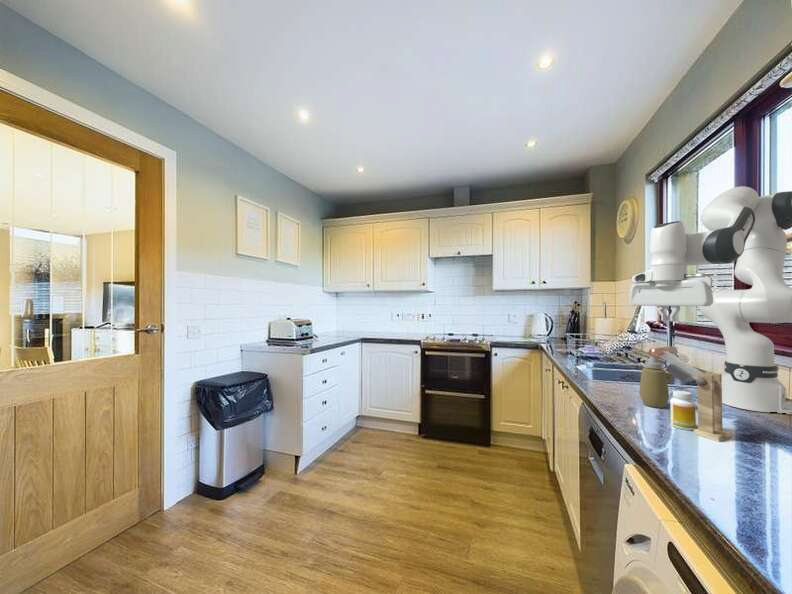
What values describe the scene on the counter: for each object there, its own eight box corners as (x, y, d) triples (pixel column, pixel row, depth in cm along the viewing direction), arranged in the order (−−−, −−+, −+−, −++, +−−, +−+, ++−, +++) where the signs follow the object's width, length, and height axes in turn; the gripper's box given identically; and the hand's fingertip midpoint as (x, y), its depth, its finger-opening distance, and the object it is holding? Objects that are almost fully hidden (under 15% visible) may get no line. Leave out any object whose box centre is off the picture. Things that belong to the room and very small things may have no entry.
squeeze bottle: (633, 401, 116) (632, 350, 116) (657, 402, 116) (656, 350, 116) (650, 409, 108) (649, 354, 108) (676, 409, 108) (675, 354, 108)
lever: (663, 355, 103) (670, 344, 101) (716, 389, 91) (726, 377, 89) (643, 357, 99) (651, 346, 97) (697, 393, 87) (707, 381, 85)
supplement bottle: (700, 431, 90) (700, 395, 90) (678, 430, 91) (677, 394, 91) (687, 424, 95) (687, 390, 95) (666, 422, 96) (665, 389, 96)
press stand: (707, 429, 91) (706, 371, 91) (732, 436, 86) (730, 374, 86) (693, 434, 88) (692, 373, 88) (718, 441, 83) (717, 377, 83)
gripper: (717, 273, 92) (718, 323, 92) (638, 278, 111) (638, 319, 110) (705, 272, 89) (706, 323, 89) (626, 277, 108) (626, 319, 108)
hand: (668, 321), depth 100 cm, fingers closed
